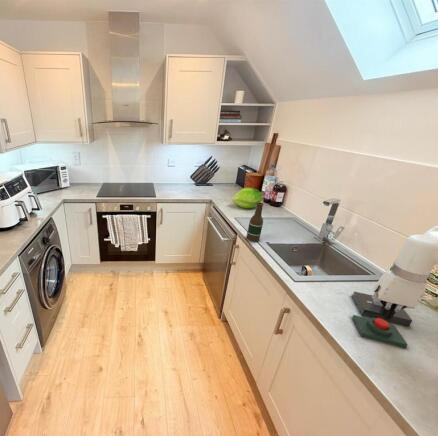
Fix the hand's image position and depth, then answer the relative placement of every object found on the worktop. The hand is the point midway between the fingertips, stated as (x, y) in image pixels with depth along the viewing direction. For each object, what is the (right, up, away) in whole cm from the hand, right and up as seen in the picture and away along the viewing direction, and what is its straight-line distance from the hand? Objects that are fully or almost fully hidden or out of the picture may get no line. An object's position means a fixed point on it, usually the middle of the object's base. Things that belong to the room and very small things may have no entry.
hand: (384, 316), depth 81 cm
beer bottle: (-16, +21, +66) cm, 71 cm away
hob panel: (+10, -3, +12) cm, 16 cm away
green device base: (0, -7, +3) cm, 7 cm away
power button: (0, -4, +2) cm, 4 cm away
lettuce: (+1, +43, +118) cm, 125 cm away
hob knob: (+10, 0, +11) cm, 15 cm away
